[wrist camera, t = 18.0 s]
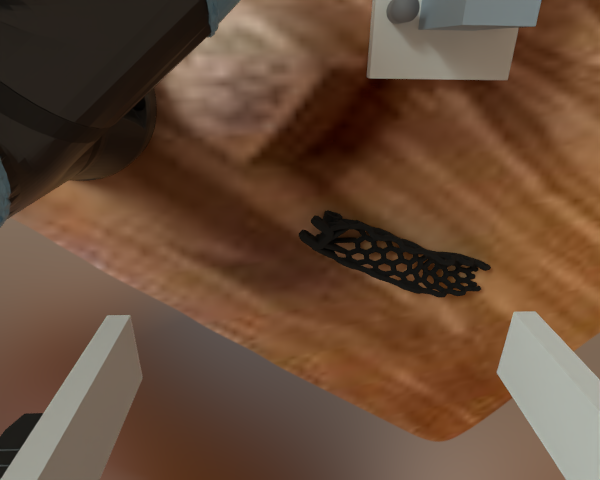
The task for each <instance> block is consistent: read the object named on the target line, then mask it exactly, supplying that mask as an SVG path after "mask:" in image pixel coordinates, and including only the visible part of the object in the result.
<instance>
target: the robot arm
mask: <svg viewBox="0 0 600 480" xmlns="http://www.w3.org/2000/svg"><path fill="white" fill-rule="evenodd" d="M239 2H240V0H0V227H1V226H2V225H3V224H4V222H5V221H6V220H7V219H8V218H10V217H11V216H13V215H14V214H16V213H18V212H19V211H21V210H22V209H24V208H25V207H27V206H29V205H30V204H32V203H33V202H35V201H36V200H38V199H40V198H41V197H43V196H44V195H46V194H47V193H49V192H51V191H52V190H54V189H55V188H57V187H59V186H60V185H62V184H63V183H65V182H67V181H68V180H75V181H89V180H96V179H101V178H104V177H107V176H110V175H113V174H115V173H117V172H119V171H120V170H122V169H123V168H125V167H126V166H127V165H129V164H130V163H131V162H133V161H134V160H135V159H136V158H137V157H138V156H139V155H140V154H141V153H142V152H143V150H144V149H145V148H146V146H147V144H148V143H149V141H150V138H151V136H152V133H153V130H154V127H155V121H156V97H155V91H154V87H155V86H156V85H157V84H158V83H159V82H160V81H161V80H162V79H163V78H164V77H165V76H166V75H167V74H168V73H169V72H171V71H172V70H173V69H174V68H175V67H176V66H177V65H178V64H179V63H180V62H181V61H182V60H183V59H184V58H185V57H186V56H187V55H188V54H189V53H190V52H192V51H193V50H194V49H195V48H196V47H197V46H198V45H199V44H200V43H201V42H202V41H203V40H204V39H205V38H206V37H212V36H213V35H214V34H215V31H216V30H217V29H218V24H219V23H220V22H221V21H222V20H223V19H224V18H225V16H226V15H227V14H228V13H229V12H230V11H231V10H232V9H233V8H234V7H235V6H236V5H237V4H238V3H239ZM497 374H498V375H499V377H500V379H501V380H502V382H503V383H504V385H505V386H506V388H507V389H508V391H509V392H510V394H511V396H512V397H513V399H514V400H515V402H516V403H517V405H518V406H519V408H520V409H521V411H522V412H523V414H524V416H525V417H526V418H527V420H528V422H529V423H530V425H531V426H532V428H533V429H534V431H535V433H536V434H537V435H538V437H539V439H540V440H541V442H542V443H543V445H544V446H545V448H546V450H547V451H548V453H549V454H550V456H551V457H552V459H553V460H554V462H555V463H556V465H557V466H558V468H559V469H560V471H561V473H562V474H563V476H564V477H565V479H566V480H600V380H599V379H598V377H597V376H596V375H595V374H594V373H593V372H592V371H591V370H590V369H589V368H588V367H587V366H586V365H585V364H584V363H583V362H582V360H581V359H579V357H578V356H577V355H576V354H575V353H574V352H573V351H572V350H571V349H570V348H569V347H568V346H567V345H566V344H565V342H564V341H563V340H562V339H561V338H560V337H559V336H558V335H557V334H556V333H555V332H554V331H553V330H552V329H551V328H550V327H549V325H548V324H547V323H546V322H545V321H544V320H543V319H542V318H541V317H540V316H539V315H538V314H537V313H536V312H514V313H513V317H512V320H511V324H510V327H509V331H508V334H507V338H506V342H505V345H504V349H503V352H502V356H501V359H500V363H499V366H498V370H497ZM141 381H142V372H141V367H140V362H139V357H138V352H137V346H136V341H135V336H134V331H133V326H132V321H131V316H130V315H107V317H106V318H105V320H104V321H103V323H102V324H101V326H100V327H99V329H98V330H97V332H96V333H95V335H94V337H93V338H92V340H91V341H90V343H89V344H88V346H87V347H86V349H85V351H84V352H83V353H82V355H81V357H80V358H79V360H78V361H77V363H76V364H75V366H74V367H73V369H72V371H71V372H70V374H69V375H68V377H67V378H66V380H65V381H64V383H63V384H62V386H61V387H60V389H59V390H58V392H57V393H56V395H55V397H54V398H53V400H52V401H51V403H50V404H49V406H48V407H47V409H46V410H45V412H44V413H36V414H35V413H34V414H24V415H23V416H21V417H20V418H19V419H18V420H17V421H15V422H14V423H13V424H12V425H11V426H9V427H8V428H7V429H6V430H5V431H4V432H3V434H2V435H1V436H0V480H100V477H101V475H102V473H103V470H104V468H105V466H106V463H107V461H108V459H109V456H110V454H111V451H112V449H113V447H114V444H115V442H116V440H117V437H118V435H119V432H120V430H121V427H122V425H123V423H124V421H125V418H126V416H127V414H128V411H129V409H130V406H131V404H132V402H133V399H134V397H135V395H136V392H137V390H138V387H139V385H140V383H141Z"/></svg>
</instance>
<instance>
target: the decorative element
mask: <svg viewBox="0 0 600 480" xmlns="http://www.w3.org/2000/svg"><path fill="white" fill-rule="evenodd" d="M311 223H312V224H313V225H314V226H315V227H316V228H317V229H319V230H320V231H322V232H321V234H317V235H316V237H315V236H314V235H312V234H311V233H309V232H308V231H306V230H301V232H300V233H299V237H300V239H301V241H303V242H304V243H306V244H307V245H308V246H310V247H311V248H312V249H313V250H315V251H317V252H319V253H321V254H323V255H325V256H327V257H329V258H332V259H334V260H336V262H338V263H340V264H342V265H344V266H346V267H349V268H351V269H356V270H359V271H362V272H365V273H367V274H368V275H370V276H372V277H374V278H377V279H379V280H383V281H386V282H389V283H391V284H394V285H396V286H398V287H400V288H402V289H404V290H408V291H411V292H414V293H418V294H420V293H425V294H431V295H434V296H436V297H445V296H446V295H447V294H452V295H455V296H462V295H465V294H466V291H479V290H481V287H480V286H477V283H476V282H473V281H471V279H475V274H472V273H471V272H472V271H475V272H476V271H478V268H477V267H479V268H480V269H482V270H485V271H486V270H489V269H490V268H491V267H490V265H488V264H486V263H484V262H482V261H480V260H478V259H474V258H471V257H468V256H465V255H462V254H457V253H450V252H436V251H430V250H427V249H424V248H422V247H421V246H419V245H417V244H416V243H414V242H411V241H408V240H405V239H401V238H398V237H396V236H394V235H393V234H391V233H390V232H387V231H385V230H382V229H380V228H375V227H371V226H369V225H366V224H364V223H362V222H360V221H358V220H349V219H342V216H341V215H340V214H338V213H335V212H332V211H329V210H328V211H325V214H324V217H323V219H322V218H321V217H319V216H314V217H313V218H312V219H311ZM349 229H355V230H357V231H359V232H360V234H361V237H359V238H337V237H338V236H340V235H341V234H343V233H344V232H346V231H347V230H349ZM365 231H367V232H368V233H369V235H370V236H368V235H367V234H366V232H365ZM364 240H367V241H369V242H371V245H372V248H370V249H368V250H364V249H362V248H361V247H360V243H361V242H363V241H364ZM378 240H379V241H384V242H386V244H387V246H388V247H386V248H384V249H382V248H379V247H377V243H376V241H378ZM392 241H393V242H395V243H397V244H398V245H399V247H400V248H397V247H395V246H393V244H392ZM350 242H353V243H355V249H352V250H347V249H345V248H343V247H341V246H338V245H337V244H335V243H350ZM334 251H336V252H339V253H343V254H345V255H346V258H343V257H338V256H337V254H336V253H335V252H334ZM389 251H393V252H395V253H397V255H398V258H399V259H396V260H394V261H391V260H389V259H387V258H386V253H388V252H389ZM374 252H378V253H380V254H381V259H380V260H377V261H373V260H370V259H369V254H371V253H374ZM403 252H408V253H410V254H413V258H411V259H410V260H407V259H405V258H404V256H403ZM356 253H361V254H363V255H364V259H362V260H355V259H353V258H352V256H351V255H354V254H356ZM418 254H423V256H421V257H418ZM427 259H428V260H427ZM425 260H427V261H426V262H425V263H423V261H425ZM415 262H418V264H417V267H416V268H415V269H412V264H414V263H415ZM384 263H385V264H387V265H389V266H390V267H391V270H390V271H386V272H385V271H382V270H380V269H379V268H378V266H379V265H381V264H384ZM400 263H403V264H406V265H407V270H406V271H404V272H400V271H397V270H396V265H398V264H400ZM431 263H434V264H435V265H434V267H433V268H432V270H428V268H427V267H428V266H429V265H430V264H431ZM364 264H369V265H371V266H373V268H366V267H364V266H361V265H364ZM451 265H453V266H455V267H456V269H455V270H454V271H448V269H447V267H449V266H451ZM461 265H466V266H470V267H469V268H463V267H461ZM421 269H422V270H423V275H422V277H420V276H419V274H418V273H419V272H420V270H421ZM439 269H442V270H443V276H442V277H438V275H437V274H436V272H437V271H438V270H439ZM459 272H463V273H465V274H466V275H467V276H466V277H465V278H461V277H459V276H458V273H459ZM409 274H413V275H414V278H415V280H414V281H413V282H412V281H409V280H407V278H406V276H408V275H409ZM392 275H396V276H398V277H400V278H401V280H396V279H393V278H391V277H389V276H392ZM429 275H431V276H432V277H433V279H434V283H433V284H431V283H430V282H428V281H427V277H428V276H429ZM448 276H452V277H453V278H454V279H455V280H456V281H455V283H451V282H450V281H448V280H447V278H448ZM439 282H443V283H444V284H445V285H446V286H447V289H444V288H443V287H441V286H440V285H439ZM418 283H423V284H424V285H425V286H426V287H427V288H423V287H421V286H420V285H418ZM460 283H466V284H468V286H465V287H464V286H463V285H461V284H460ZM453 288H457V289H459V290H461V291H456V290H453ZM433 289H436V290H438V291H439V292H438V291H435V290H433Z"/></svg>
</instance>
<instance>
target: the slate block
mask: <svg viewBox="0 0 600 480" xmlns="http://www.w3.org/2000/svg"><path fill="white" fill-rule="evenodd" d="M540 5H541V0H422V3H421V11H420V19H419V28H418V30H461V31H477V30H491V29H505V28H519V27H533V26H536V22H537V18H538V14H539V9H540Z"/></svg>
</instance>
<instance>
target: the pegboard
mask: <svg viewBox="0 0 600 480" xmlns="http://www.w3.org/2000/svg"><path fill="white" fill-rule="evenodd" d="M421 3H422V0H373V1H372V14H371V27H370V40H369V53H368V66H367V78H372V79H447V80H508V76H509V72H510V67H511V62H512V58H513V53H514V48H515V44H516V39H517V34H518V29H519V28H505V29H491V30H477V31H461V30H418V28H419V19H420V11H421Z"/></svg>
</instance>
